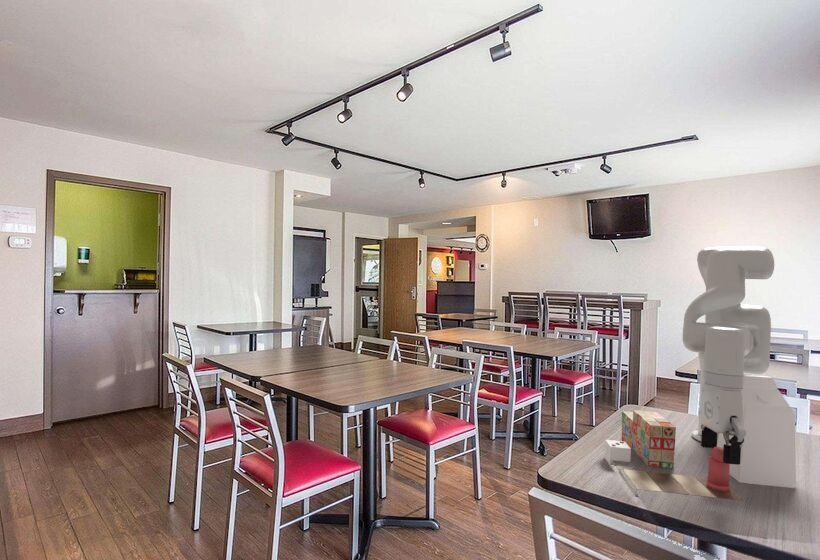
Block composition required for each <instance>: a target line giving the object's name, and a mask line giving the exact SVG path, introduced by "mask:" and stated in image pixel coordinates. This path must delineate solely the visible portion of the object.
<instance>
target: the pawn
mask: <svg viewBox="0 0 820 560" xmlns="http://www.w3.org/2000/svg"><path fill="white" fill-rule="evenodd" d="M709 455H710V456H709V457H708V464H707V465H708V471H707V478H708V479H707V487H709V488H710V489H712V490H715V491H719V492H729V491H730V489H731V484H730V474H729V472H730V464H726V463H724V462H723V448H722V447H714V448H710V451H709ZM707 487H706V488H707Z"/></svg>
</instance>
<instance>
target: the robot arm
mask: <svg viewBox="0 0 820 560" xmlns="http://www.w3.org/2000/svg"><path fill="white" fill-rule="evenodd" d="M696 256H697V257H696V261H697V267H698V271H699V272H700V276H701V278H702V280H703V282H704V286H705V292H702V293H701V294H700V295H698V296H697V297H696V298H695V299H694V300H693V301H692V302H691V303H689V305H688V306H687V309H686V310H685V311H684V312H685V313H684V315H683V316H684V317H683V327H682V342H683V346H684V347H685V349H687V350H688V351H690V352H694V353H698V358H699V359H698V360H699V369H700V373H699V374H700V376H699V378H700V379H699V380H700V382H699V402H698V403H699V404H698V423H697V424H698V427H697V429H696V430H693V431H692V432H691V435H692V438H694V439H695V440H697V441H699V442H700V446H701V447H702V448H706V449H712V448H714V447H717V442H718V434H721V433H723V436H724V439H725V442H726V444H724V447H723V462H724V463H726V464H736V465H739V464H740V458H741V447H742V446H743V445H742V443H743V442H744V437H745V435H746V430H745V429H744V427H743V404H742V393H741V391H742V390H743V379H744V375H745V374H750V375H753V374H754V375H762V374H765V373H767V371H768V370H769V367H770V361H771V337H772V336H771V334H772V333H771V332H772V331H771V329H772V319H771V314H770V312H769V310H768V309H767V308H766V307H764V306H762V305H758V304H757V305H755V304H754V305H753V304H741V303H742V302H743V301H744V299H745V297H746V280H768V279H770V278H771V277H772V276H773V274H774V271H775V259H774V258H775V257H774V255H773V253H772V251H771V250H770V248H768V247H764V246H713V247H705V248H704V249H701V250H700V251H698V253H697V255H696ZM703 316H704V317H705V319H704V320H705V321H704V322H697V320H699V319H700V318H701V317H703ZM726 430H728V431H726ZM729 436H733V437H732V438H731V439H730V438H729Z"/></svg>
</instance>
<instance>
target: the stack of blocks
mask: <svg viewBox="0 0 820 560" xmlns="http://www.w3.org/2000/svg"><path fill="white" fill-rule="evenodd" d="M676 433H677V427H676V426H675V425H674V424H672V423H671V421H669V420H668V419H667V418H665V417H663V415H661V414H660V413H658V412H656V411H648V410H647V411H646V410H633V411H625V410H624V411H623V410H622V411H621V440H622V441H625V442H626V443H627V445H628V446H629V447H630V448H631V450H634V451H635V453H636V454H637V455H638V456H639V457H640V459H642V461H643V463H644V464H645V465H646V467H647V466H648V467H654V468H655V467H656V468H667V469H675V463H674V461H675V450H676Z"/></svg>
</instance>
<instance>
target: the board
mask: <svg viewBox="0 0 820 560" xmlns="http://www.w3.org/2000/svg"><path fill="white" fill-rule="evenodd" d="M618 470H619V471H618V473H619V475H620V476H621V478H622V480H623V481H624V482H625V484H626V485H627V487H628V488H629V489H630V490H631V492H632V493H633V495H634V497H635V498H636V497H637V498H639V497H640V496H639V495H638V494H637V492H636V491H635V489H634V487H633V486H635V487H636V490H640V491H650V492H651V491H652V492H660V493H669V494H679V495H687V496H688V495H690V496H698V497H708V498H718V499H725V500H726V499H727V500H736V501H744V499H743V498H742V497H741V496H740V495H738V494H737V493H736V492H734V491H733V490H732V489H731V488H730V491H729V492H719V491H715V490H712V489H710V488H709V487H707V479H708V477H705V476H693V475H686V474H685V475H684V474H675V473H671V474H670V473H665V472H663V473H662V472H654V471H653V472H652V471H643V470H636V469H635V470H633V469H626V468H625V469H622V470H623V472H624V473H625V474H626V476H627V477H628V478H629V479H630V481H631V482H632V484H633V486H632V485H631V483H630V482H629V481H628V479H627V477H626V476H625V475H624V474H623V472H622V471H621V469H618Z"/></svg>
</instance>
